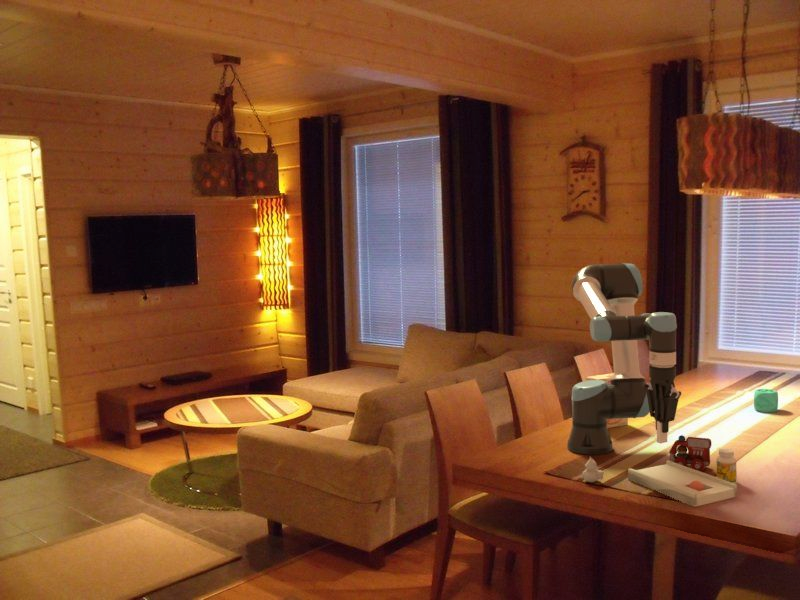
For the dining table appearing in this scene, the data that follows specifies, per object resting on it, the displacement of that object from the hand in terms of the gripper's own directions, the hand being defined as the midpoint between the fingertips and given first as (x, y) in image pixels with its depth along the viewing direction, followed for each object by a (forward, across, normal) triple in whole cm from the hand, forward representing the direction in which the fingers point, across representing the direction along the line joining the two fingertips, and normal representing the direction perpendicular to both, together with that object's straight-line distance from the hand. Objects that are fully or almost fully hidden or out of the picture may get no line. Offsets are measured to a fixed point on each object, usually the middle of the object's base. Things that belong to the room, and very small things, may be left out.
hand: (661, 442), depth 228 cm
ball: (+9, +14, -1) cm, 17 cm away
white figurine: (+12, -9, -18) cm, 24 cm away
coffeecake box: (+14, -58, +28) cm, 66 cm away
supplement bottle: (+12, +11, +14) cm, 22 cm away
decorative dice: (+15, -43, +96) cm, 106 cm away
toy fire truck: (+13, -4, +16) cm, 20 cm away
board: (+12, +8, -1) cm, 14 cm away
